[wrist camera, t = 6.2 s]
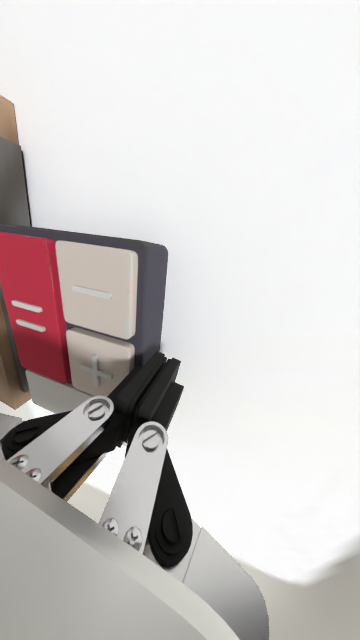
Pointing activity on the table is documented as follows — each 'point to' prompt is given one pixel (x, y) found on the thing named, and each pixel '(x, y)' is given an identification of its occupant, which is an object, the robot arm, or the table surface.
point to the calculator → (80, 309)
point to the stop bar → (12, 208)
